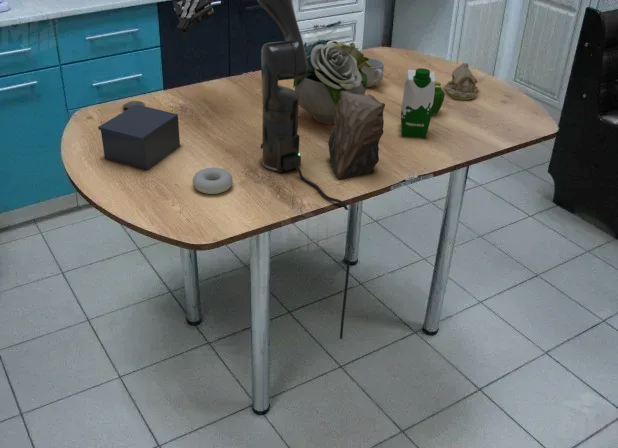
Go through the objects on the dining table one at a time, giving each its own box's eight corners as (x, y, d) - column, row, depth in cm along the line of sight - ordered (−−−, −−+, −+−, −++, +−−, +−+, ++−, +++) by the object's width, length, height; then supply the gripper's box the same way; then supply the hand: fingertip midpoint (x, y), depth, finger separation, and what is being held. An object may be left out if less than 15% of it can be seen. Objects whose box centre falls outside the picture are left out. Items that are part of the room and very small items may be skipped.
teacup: (346, 79, 234) (348, 57, 229) (375, 76, 237) (377, 54, 232) (360, 94, 223) (362, 71, 218) (390, 92, 226) (393, 69, 221)
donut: (231, 197, 166) (234, 176, 174) (231, 185, 164) (233, 165, 172) (190, 196, 165) (195, 175, 173) (189, 184, 163) (194, 164, 171)
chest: (147, 170, 175) (144, 139, 170) (104, 158, 179) (100, 128, 174) (180, 146, 187) (178, 117, 182) (139, 135, 191) (136, 107, 186)
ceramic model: (442, 83, 234) (447, 55, 228) (474, 85, 234) (480, 57, 228) (448, 99, 222) (452, 70, 217) (481, 101, 222) (487, 72, 217)
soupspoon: (143, 105, 210) (122, 108, 208) (141, 95, 208) (120, 98, 206) (159, 132, 193) (136, 136, 191) (157, 121, 191) (134, 125, 189)
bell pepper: (412, 115, 211) (416, 85, 205) (417, 105, 217) (421, 76, 212) (438, 119, 209) (443, 89, 203) (443, 109, 215) (448, 80, 210)
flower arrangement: (324, 144, 192) (329, 61, 178) (271, 113, 207) (272, 35, 194) (385, 123, 205) (394, 45, 192) (332, 95, 221) (337, 21, 207)
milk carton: (398, 137, 197) (407, 72, 186) (398, 124, 205) (406, 61, 193) (428, 140, 197) (439, 75, 185) (427, 127, 204) (437, 63, 193)
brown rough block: (326, 157, 185) (330, 88, 174) (370, 154, 187) (377, 87, 176) (335, 179, 175) (341, 108, 164) (382, 177, 177) (390, 107, 166)
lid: (142, 141, 169) (141, 138, 169) (98, 129, 174) (97, 126, 173) (178, 116, 182) (177, 114, 182) (136, 106, 186) (136, 104, 186)
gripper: (180, -28, 191) (155, 18, 184) (221, -22, 187) (197, 25, 180) (189, -8, 197) (165, 37, 191) (229, -3, 193) (206, 44, 187)
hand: (180, 31), depth 186 cm, fingers closed
